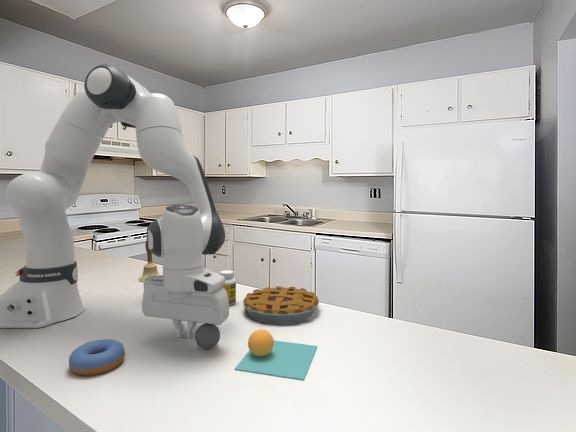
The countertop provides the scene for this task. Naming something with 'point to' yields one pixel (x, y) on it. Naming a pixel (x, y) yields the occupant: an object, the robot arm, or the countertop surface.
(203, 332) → the ball
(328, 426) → the countertop surface
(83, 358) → the doughnut
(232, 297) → the supplement bottle
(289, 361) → the mark
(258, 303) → the pie
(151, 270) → the hand bell
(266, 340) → the ball
